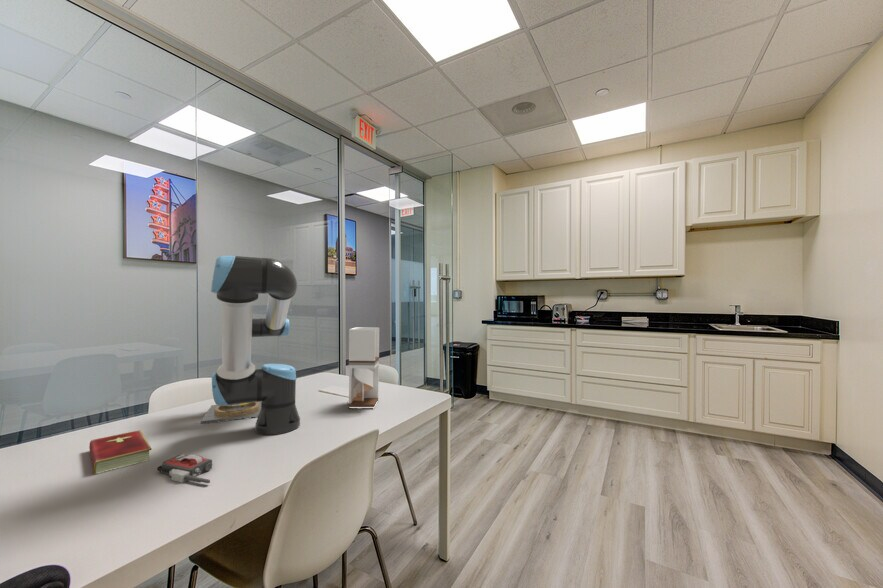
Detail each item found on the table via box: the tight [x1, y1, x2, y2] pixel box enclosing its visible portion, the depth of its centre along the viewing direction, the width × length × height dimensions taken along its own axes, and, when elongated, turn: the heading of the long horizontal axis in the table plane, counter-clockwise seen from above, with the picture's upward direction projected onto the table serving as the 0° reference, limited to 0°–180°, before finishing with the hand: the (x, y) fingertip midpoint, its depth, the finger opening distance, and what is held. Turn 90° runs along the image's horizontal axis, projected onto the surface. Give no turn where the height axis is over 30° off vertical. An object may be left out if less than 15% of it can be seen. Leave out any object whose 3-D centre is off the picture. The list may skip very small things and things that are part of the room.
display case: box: [347, 327, 380, 408], centre depth 158 cm, size 11×11×35 cm
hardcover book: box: [88, 429, 152, 476], centre depth 105 cm, size 12×21×4 cm, turn 48°
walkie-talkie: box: [156, 453, 213, 484], centre depth 95 cm, size 9×4×20 cm
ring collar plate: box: [200, 402, 261, 425], centre depth 146 cm, size 22×22×2 cm
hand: (237, 402), depth 146 cm, fingers closed on tape roll, 10 cm apart
